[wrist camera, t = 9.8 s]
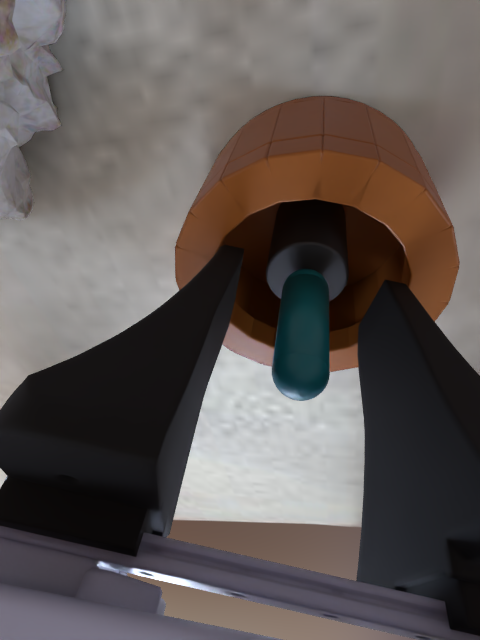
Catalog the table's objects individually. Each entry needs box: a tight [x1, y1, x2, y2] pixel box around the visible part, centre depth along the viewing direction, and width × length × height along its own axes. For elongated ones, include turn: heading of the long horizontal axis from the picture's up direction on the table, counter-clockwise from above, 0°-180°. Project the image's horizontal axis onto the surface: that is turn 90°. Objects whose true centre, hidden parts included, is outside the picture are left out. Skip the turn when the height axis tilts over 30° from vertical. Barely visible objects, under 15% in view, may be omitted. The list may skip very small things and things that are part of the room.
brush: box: [266, 199, 349, 401], centre depth 11 cm, size 3×3×8 cm
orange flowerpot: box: [175, 96, 460, 372], centre depth 13 cm, size 8×8×5 cm
